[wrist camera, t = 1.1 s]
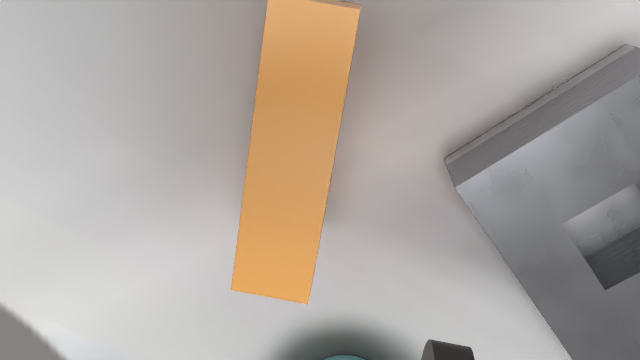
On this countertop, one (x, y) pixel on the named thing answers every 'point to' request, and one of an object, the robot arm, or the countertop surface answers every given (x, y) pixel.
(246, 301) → the countertop surface
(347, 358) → the cupcake
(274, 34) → the orange arch block
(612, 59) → the metal panel
